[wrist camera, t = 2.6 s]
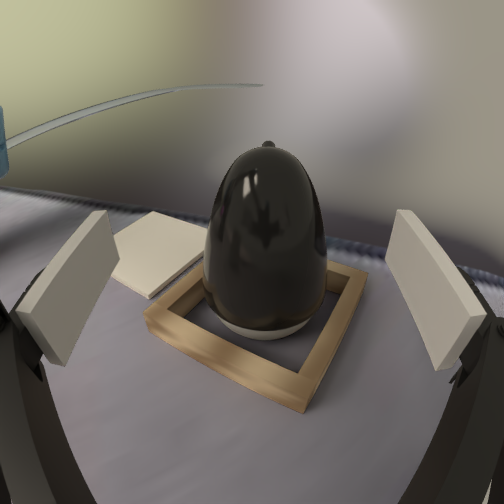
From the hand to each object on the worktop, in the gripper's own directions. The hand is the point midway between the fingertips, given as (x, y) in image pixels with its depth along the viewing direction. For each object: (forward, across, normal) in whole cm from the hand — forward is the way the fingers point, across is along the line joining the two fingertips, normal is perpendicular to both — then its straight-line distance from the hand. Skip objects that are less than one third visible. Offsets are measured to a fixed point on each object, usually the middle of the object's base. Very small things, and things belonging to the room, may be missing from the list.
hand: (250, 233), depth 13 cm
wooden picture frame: (+8, +1, -14) cm, 16 cm away
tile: (+19, -13, -13) cm, 26 cm away
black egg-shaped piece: (+8, +1, -14) cm, 16 cm away
